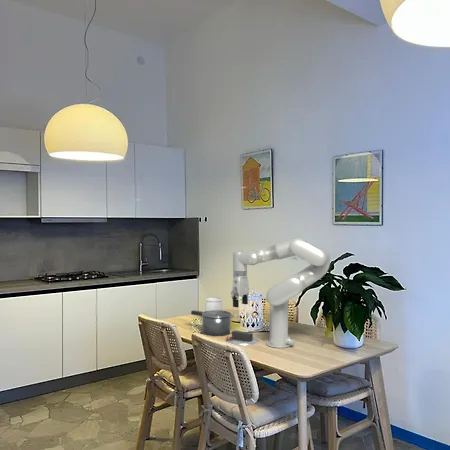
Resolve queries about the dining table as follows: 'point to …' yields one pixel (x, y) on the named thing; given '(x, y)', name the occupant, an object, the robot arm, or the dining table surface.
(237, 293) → the robot arm
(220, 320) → the grey saucepan
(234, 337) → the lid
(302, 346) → the dining table surface
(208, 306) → the jar
